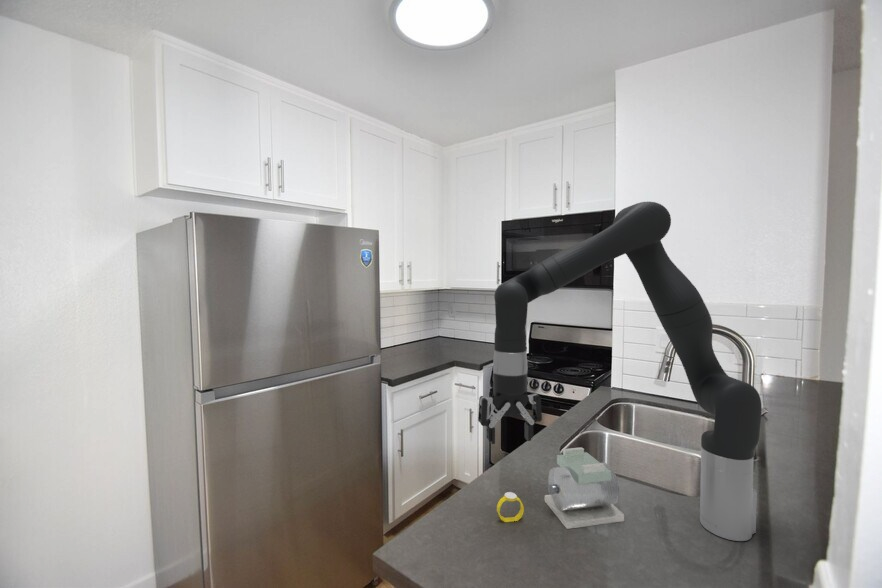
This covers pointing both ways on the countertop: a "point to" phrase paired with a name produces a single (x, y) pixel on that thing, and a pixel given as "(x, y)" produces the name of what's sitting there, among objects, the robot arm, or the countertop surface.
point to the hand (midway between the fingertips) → (509, 441)
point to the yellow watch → (510, 497)
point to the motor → (583, 490)
